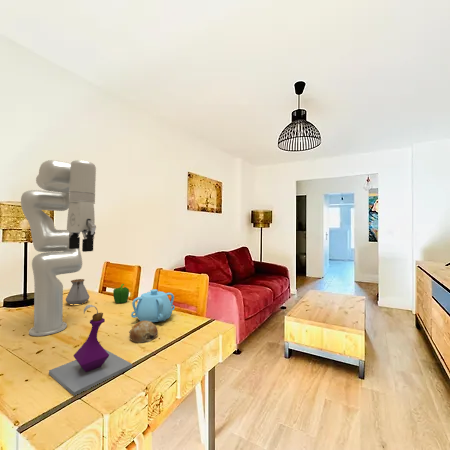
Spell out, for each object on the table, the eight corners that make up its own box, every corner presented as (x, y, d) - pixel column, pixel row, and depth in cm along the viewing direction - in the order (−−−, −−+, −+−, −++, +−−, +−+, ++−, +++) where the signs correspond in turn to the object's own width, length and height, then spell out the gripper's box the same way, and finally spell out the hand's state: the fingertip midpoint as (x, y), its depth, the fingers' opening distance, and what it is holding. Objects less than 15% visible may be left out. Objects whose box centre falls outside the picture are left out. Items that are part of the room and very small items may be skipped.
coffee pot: (65, 302, 140) (66, 275, 140) (88, 299, 146) (89, 273, 146) (64, 313, 122) (64, 282, 122) (91, 309, 128) (91, 280, 128)
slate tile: (48, 374, 70) (48, 370, 70) (104, 351, 83) (104, 348, 83) (74, 396, 61) (74, 392, 61) (132, 367, 74) (132, 363, 74)
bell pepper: (121, 305, 135) (121, 286, 135) (110, 303, 137) (110, 285, 138) (132, 301, 142) (132, 283, 143) (121, 299, 145) (121, 282, 146)
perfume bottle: (100, 357, 78) (100, 299, 78) (109, 366, 72) (110, 304, 73) (73, 366, 72) (73, 304, 73) (80, 377, 67) (81, 310, 67)
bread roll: (137, 354, 89) (144, 336, 87) (121, 336, 94) (127, 319, 92) (158, 344, 97) (165, 327, 95) (142, 327, 102) (148, 311, 100)
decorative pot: (149, 312, 123) (149, 284, 124) (178, 315, 119) (178, 287, 119) (127, 324, 108) (127, 292, 108) (159, 328, 103) (159, 295, 103)
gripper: (59, 198, 85) (57, 248, 85) (82, 196, 75) (80, 253, 75) (82, 200, 91) (80, 247, 91) (106, 199, 81) (105, 251, 81)
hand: (80, 250), depth 83 cm, fingers open, 9 cm apart
